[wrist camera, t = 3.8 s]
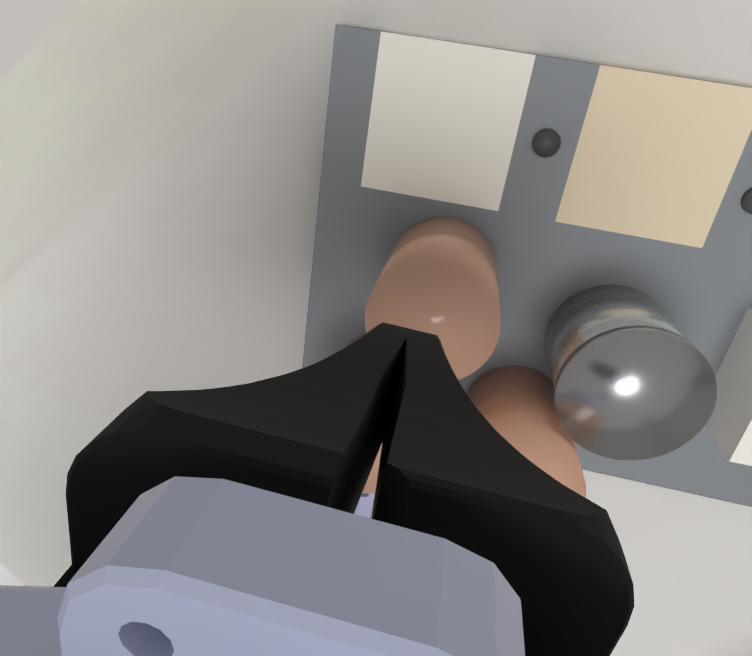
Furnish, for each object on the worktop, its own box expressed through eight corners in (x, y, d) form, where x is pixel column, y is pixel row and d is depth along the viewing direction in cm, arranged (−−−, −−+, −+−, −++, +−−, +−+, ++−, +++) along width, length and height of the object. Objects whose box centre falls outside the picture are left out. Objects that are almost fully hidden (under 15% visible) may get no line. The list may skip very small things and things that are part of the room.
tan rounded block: (549, 457, 23) (565, 548, 19) (455, 437, 24) (449, 521, 19) (577, 377, 22) (603, 456, 17) (476, 356, 22) (475, 428, 17)
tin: (646, 403, 21) (682, 474, 18) (528, 378, 22) (538, 442, 18) (691, 295, 19) (743, 348, 16) (561, 270, 20) (580, 317, 16)
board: (811, 511, 23) (822, 525, 22) (302, 399, 25) (297, 408, 24) (1055, 135, 16) (1082, 138, 16) (339, 25, 18) (334, 23, 18)
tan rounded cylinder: (484, 326, 21) (484, 394, 17) (383, 308, 22) (357, 369, 17) (508, 226, 20) (515, 273, 15) (397, 208, 20) (372, 248, 15)
